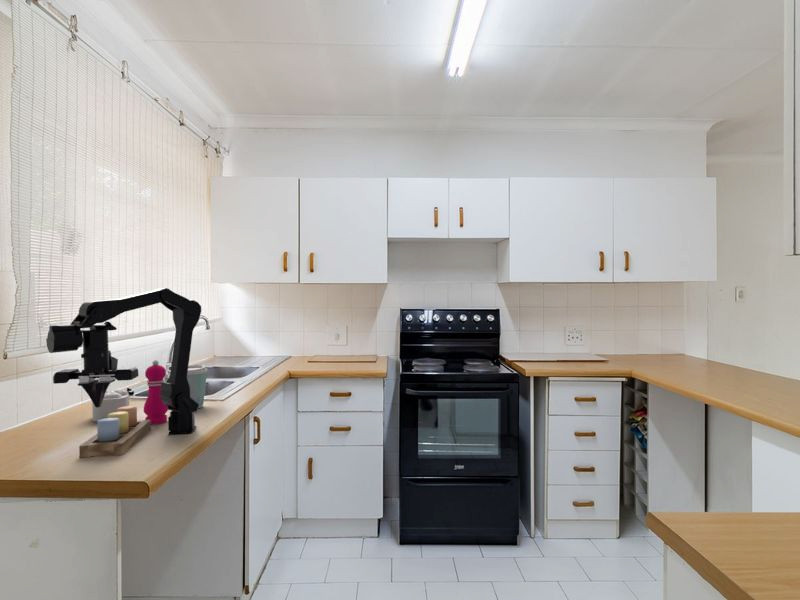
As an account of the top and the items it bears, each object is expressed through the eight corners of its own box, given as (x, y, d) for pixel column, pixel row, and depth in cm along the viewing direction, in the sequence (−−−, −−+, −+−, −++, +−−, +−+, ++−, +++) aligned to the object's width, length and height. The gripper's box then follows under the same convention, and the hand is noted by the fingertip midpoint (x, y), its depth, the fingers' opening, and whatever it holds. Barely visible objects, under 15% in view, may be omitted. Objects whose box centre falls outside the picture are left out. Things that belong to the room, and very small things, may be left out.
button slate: (122, 435, 134) (122, 417, 134) (115, 441, 129) (115, 422, 129) (102, 436, 133) (101, 418, 133) (94, 442, 128) (94, 423, 128)
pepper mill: (138, 423, 158) (137, 361, 157) (158, 418, 164) (158, 358, 164) (153, 426, 154) (152, 362, 154) (173, 420, 161) (172, 359, 160)
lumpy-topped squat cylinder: (90, 423, 159) (90, 396, 158) (96, 414, 170) (96, 389, 170) (127, 419, 163) (126, 393, 163) (130, 410, 175) (130, 386, 174)
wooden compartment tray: (151, 429, 150) (150, 419, 150) (122, 454, 127) (122, 443, 127) (115, 431, 149) (115, 421, 148) (79, 457, 125) (79, 445, 125)
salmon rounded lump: (139, 422, 147) (139, 405, 147) (133, 426, 143) (133, 409, 142) (121, 423, 147) (120, 406, 146) (114, 427, 142) (114, 410, 142)
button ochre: (131, 428, 141) (131, 411, 140) (124, 433, 136) (124, 415, 136) (112, 429, 140) (111, 412, 140) (105, 434, 135) (104, 416, 135)
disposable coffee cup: (201, 410, 174) (200, 368, 173) (170, 411, 174) (170, 368, 174) (212, 404, 184) (212, 364, 184) (184, 404, 184) (183, 364, 184)
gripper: (144, 343, 139) (146, 398, 140) (72, 346, 136) (74, 402, 137) (129, 348, 128) (131, 407, 129) (50, 351, 125) (53, 412, 126)
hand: (98, 407), depth 130 cm, fingers closed
